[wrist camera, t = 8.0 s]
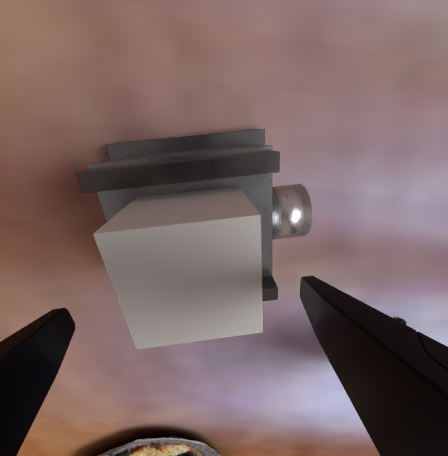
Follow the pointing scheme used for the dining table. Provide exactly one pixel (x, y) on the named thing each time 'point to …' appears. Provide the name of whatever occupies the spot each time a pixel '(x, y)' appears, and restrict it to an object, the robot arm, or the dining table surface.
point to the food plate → (161, 448)
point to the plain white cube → (186, 266)
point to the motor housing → (205, 181)
